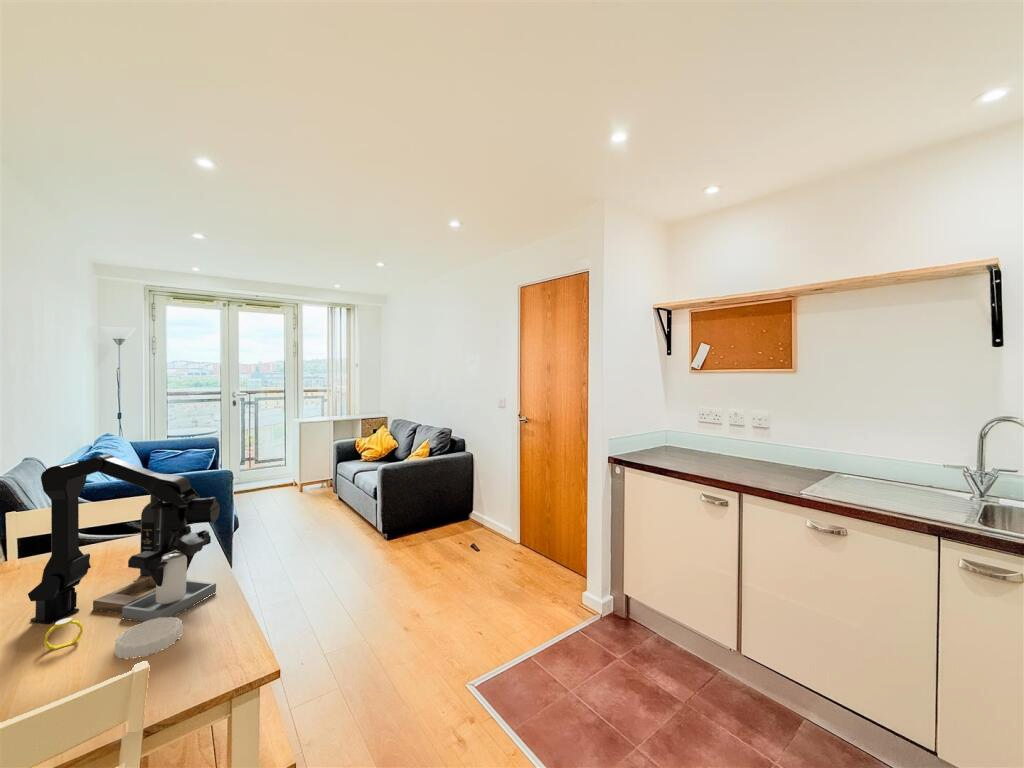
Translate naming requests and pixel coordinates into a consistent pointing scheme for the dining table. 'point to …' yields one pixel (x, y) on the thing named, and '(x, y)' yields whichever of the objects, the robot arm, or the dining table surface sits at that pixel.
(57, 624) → the watch
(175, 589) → the can
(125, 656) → the mooncake
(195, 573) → the dining table surface
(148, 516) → the wine bottle
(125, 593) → the holder
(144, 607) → the tray
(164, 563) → the robot arm
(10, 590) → the dining table surface
